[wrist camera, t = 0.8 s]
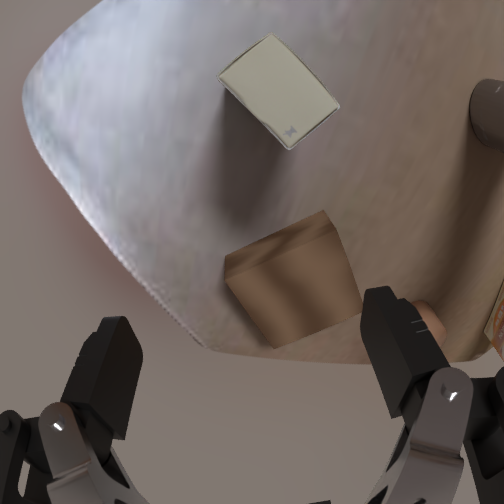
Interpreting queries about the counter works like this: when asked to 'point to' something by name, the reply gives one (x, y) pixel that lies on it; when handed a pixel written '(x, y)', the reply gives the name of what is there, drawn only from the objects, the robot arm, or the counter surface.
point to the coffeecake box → (497, 324)
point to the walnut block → (295, 280)
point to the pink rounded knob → (431, 321)
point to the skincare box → (279, 90)
